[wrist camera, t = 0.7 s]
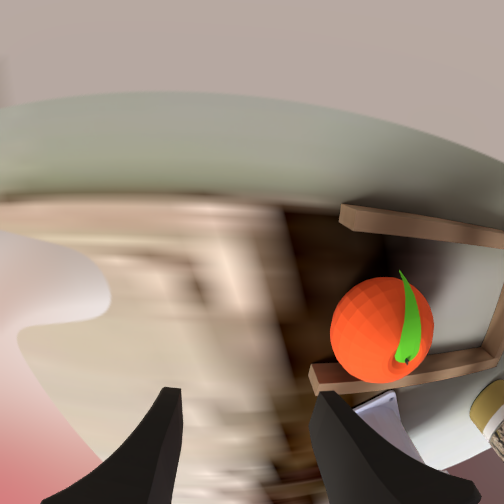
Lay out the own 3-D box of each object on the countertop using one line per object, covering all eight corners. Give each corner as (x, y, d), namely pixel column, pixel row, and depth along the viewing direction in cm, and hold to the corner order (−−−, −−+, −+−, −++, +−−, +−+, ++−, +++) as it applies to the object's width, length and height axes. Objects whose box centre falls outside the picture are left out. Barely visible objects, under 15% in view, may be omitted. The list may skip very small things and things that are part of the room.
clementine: (319, 251, 20) (361, 297, 13) (408, 243, 20) (470, 279, 14) (315, 352, 22) (344, 418, 16) (395, 338, 23) (439, 391, 16)
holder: (522, 234, 21) (539, 241, 19) (483, 354, 25) (495, 366, 23) (341, 203, 19) (356, 210, 17) (308, 375, 23) (315, 395, 21)
